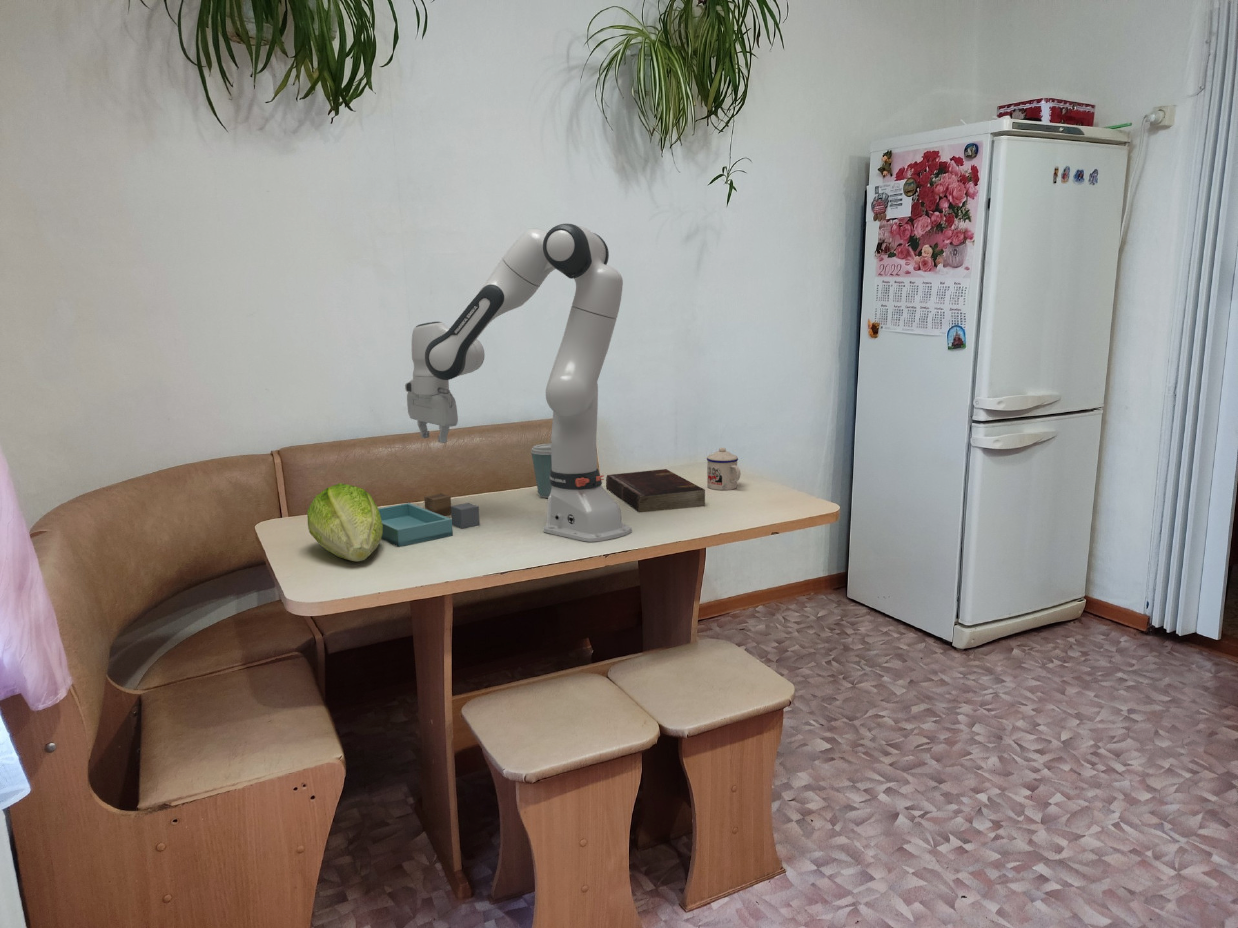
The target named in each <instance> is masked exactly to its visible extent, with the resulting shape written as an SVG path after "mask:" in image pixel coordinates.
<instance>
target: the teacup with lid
mask: <svg viewBox="0 0 1238 928" xmlns="http://www.w3.org/2000/svg"><path fill="white" fill-rule="evenodd" d="M706 460H707V462H706V463H707V468H706V469H707V473H706V474H707V476H706V477H707V479H706V484H707V485H706V487H707V488H708V489H710V490H715V491H731V490H735V489H736V488H737V487H738V482H739V480H740V478H741V469H740V468H739V466H738V460H739V458H738V456H737V455H736V454H733V453H731V452H730V451H727V449H726V448H725V447H719V449H718V450H717V451H715V452H714V453H711V454H709V455H707V457H706Z"/></svg>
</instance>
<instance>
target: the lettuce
mask: <svg viewBox="0 0 1238 928" xmlns="http://www.w3.org/2000/svg"><path fill="white" fill-rule="evenodd" d="M378 508H379V507H378V505H377V504H376V502H375V501H374V499H373V497H372V495H371V494H370V493H369V492H367V491H366V490H365V489H364V488H360V487H357V486H354V485H353V484H352V485H351V484H345V483H342V482H341V483H336V484H334V485H330V486H329V487H326V488H325V489H324V490H322V491H321V492H320V493H318V494H316V495H315V496H314V498H313V500H312V502H311V503H310V505H309V507H308V509H307V511H306V513H307V514H306V515H307V527H308V528H307V529H308V531H309V534H310V535H311V536H312V538H313V539H314V540H315V541H316V542H317V543H318V544H319V545H320V546H321V547H322V548H324V549H325V550H327V551H328V552H330V553H331V554H333V555H335V556H336V557H338V558H340V559H343V560H347V561H352V562H362V561H366V559H367V558H368V557H369V556H370V555H371V554H372V553H373V552H374V551H375V550H376V549H377V548H378V546H379V544H380V542H381V540H382V539H381V537H382V534H383V524H382V520H381V516H380V513H379V510H378Z"/></svg>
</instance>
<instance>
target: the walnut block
mask: <svg viewBox="0 0 1238 928" xmlns="http://www.w3.org/2000/svg"><path fill="white" fill-rule="evenodd" d="M423 498H424V499H423V500H424V509H427V510H429V511H432V512H434V513H437V514H440V515H442V516H445V517H448V516H451V506H452V498H451V495H447V494H444V493H443V492H442V493H437V494H430V495H425V496H423Z"/></svg>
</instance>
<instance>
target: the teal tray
mask: <svg viewBox="0 0 1238 928" xmlns="http://www.w3.org/2000/svg"><path fill="white" fill-rule="evenodd" d="M378 510H379V513H380V516H381V520H382V524H383V534H382V537H381V540H384V541H385V542H387V543H388V544H389V543H390V544H391V545H394V546H395V547H398V548H401V547H405V546H410V545H413V544H419V543H423V542H427V541H434V540H438V539H442V538H447V537H451V536H454V535H453V533H454V532H453V526H452V519H451V518H450V517H448V516H442V515H440V514H437V513H434V512H432V511H429V510H427V509H425V507H424V508H423V507H421V506H418V505H416V504H414V503H411V502H408V503H400V504H397V505H396V504H395V505H389V506H386V507H378Z"/></svg>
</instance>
